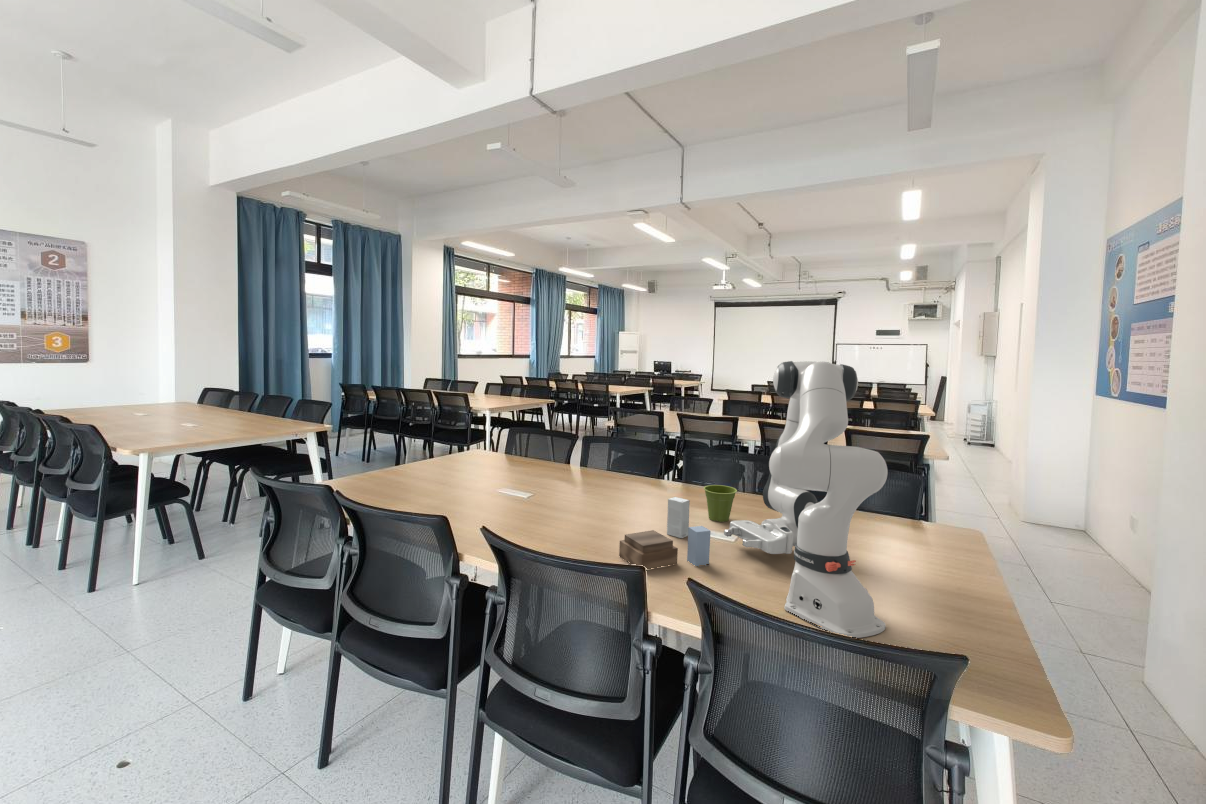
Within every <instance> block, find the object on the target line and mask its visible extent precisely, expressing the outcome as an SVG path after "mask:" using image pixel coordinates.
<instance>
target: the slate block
mask: <svg viewBox="0 0 1206 804" xmlns="http://www.w3.org/2000/svg"><path fill="white" fill-rule="evenodd" d="M710 547H711V530H710V529H708V528H707V527H704V525H698V526H697V525H696V526H689V527H688V536H687V555H686V558H687V559H686V562H688V561H689V562H690V563H692V564H693V565H695V566H698V567H700V566H699V565H705V566H707V565H706V564H709V565H710ZM689 562H688V563H689ZM690 563H689V564H690ZM692 564H691V565H692ZM693 565H692V566H693ZM695 566H694V567H695Z"/></svg>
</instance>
